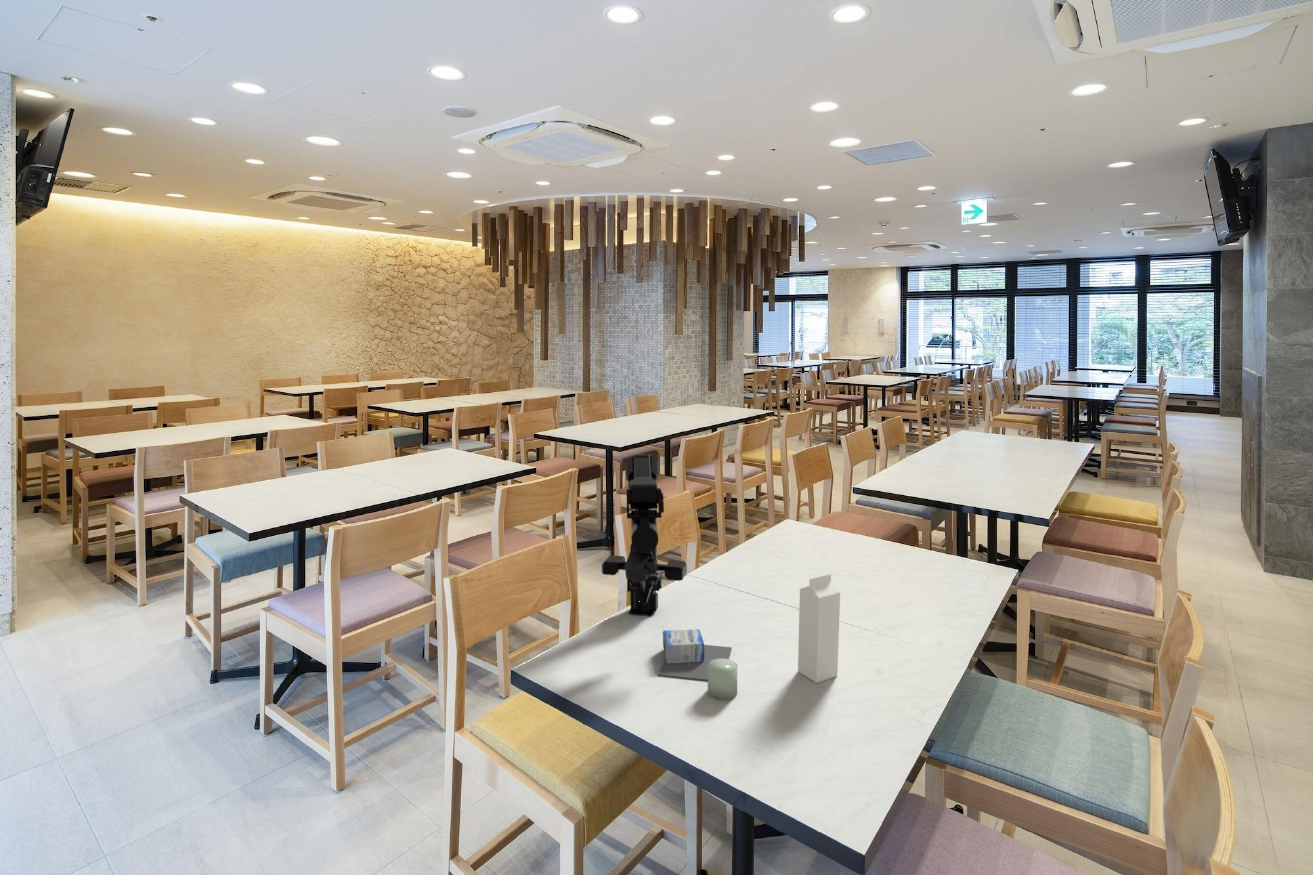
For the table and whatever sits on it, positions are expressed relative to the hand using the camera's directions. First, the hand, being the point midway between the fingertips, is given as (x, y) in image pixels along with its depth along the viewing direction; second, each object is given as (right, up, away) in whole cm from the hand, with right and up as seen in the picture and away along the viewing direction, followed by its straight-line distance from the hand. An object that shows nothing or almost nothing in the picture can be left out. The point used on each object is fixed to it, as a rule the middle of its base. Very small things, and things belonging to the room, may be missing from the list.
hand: (644, 603), depth 158 cm
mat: (+12, -12, -4) cm, 17 cm away
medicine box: (+4, -10, -2) cm, 11 cm away
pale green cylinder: (+16, -14, -17) cm, 27 cm away
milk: (+37, -13, -9) cm, 41 cm away
